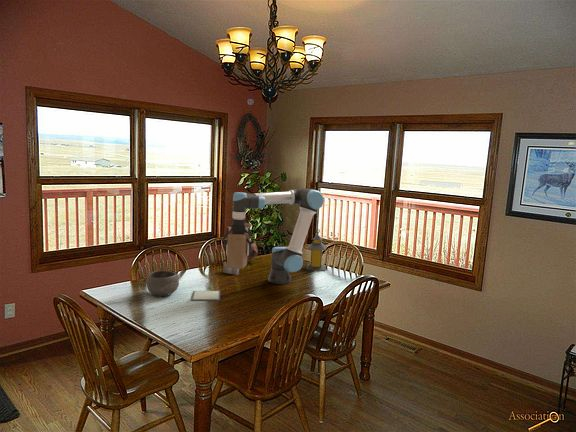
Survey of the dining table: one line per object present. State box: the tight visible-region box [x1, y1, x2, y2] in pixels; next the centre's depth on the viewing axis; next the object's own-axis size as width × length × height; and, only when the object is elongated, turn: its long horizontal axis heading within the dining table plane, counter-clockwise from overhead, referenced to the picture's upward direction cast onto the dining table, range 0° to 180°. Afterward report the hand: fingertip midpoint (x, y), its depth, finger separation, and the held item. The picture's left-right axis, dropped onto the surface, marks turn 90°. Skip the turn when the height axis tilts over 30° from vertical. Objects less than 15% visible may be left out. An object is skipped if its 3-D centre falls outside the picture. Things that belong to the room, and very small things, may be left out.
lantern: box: [305, 228, 327, 272], centre depth 317 cm, size 14×14×30 cm
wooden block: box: [226, 232, 248, 270], centre depth 250 cm, size 10×10×20 cm
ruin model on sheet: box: [222, 261, 240, 276], centre depth 295 cm, size 11×3×10 cm, turn 67°
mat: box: [190, 290, 221, 302], centre depth 246 cm, size 16×16×1 cm
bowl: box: [146, 269, 180, 297], centre depth 244 cm, size 18×18×13 cm
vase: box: [244, 222, 259, 263], centre depth 324 cm, size 25×20×30 cm
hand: (237, 254), depth 250 cm, fingers closed on wooden block, 12 cm apart
